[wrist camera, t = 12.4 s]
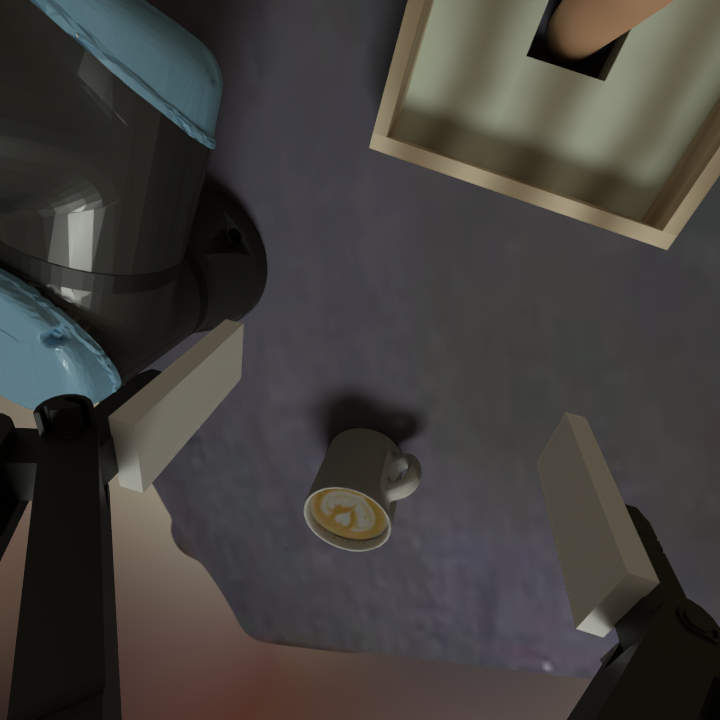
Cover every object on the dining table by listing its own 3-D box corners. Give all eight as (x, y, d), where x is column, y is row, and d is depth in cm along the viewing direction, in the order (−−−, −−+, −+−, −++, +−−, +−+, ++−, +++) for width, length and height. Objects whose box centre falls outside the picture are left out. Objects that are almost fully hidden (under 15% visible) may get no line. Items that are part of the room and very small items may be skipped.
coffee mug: (345, 490, 57) (324, 553, 48) (317, 434, 53) (288, 492, 44) (439, 479, 52) (434, 547, 43) (416, 417, 48) (405, 478, 40)
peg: (535, 53, 30) (580, 0, 18) (564, -16, 28) (636, -127, 16) (588, 70, 30) (668, 28, 18) (620, 1, 28) (735, -98, 16)
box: (385, 145, 35) (369, 147, 29) (499, -261, 24) (511, -392, 18) (632, 229, 34) (667, 250, 28) (875, -155, 23) (1020, -257, 17)
